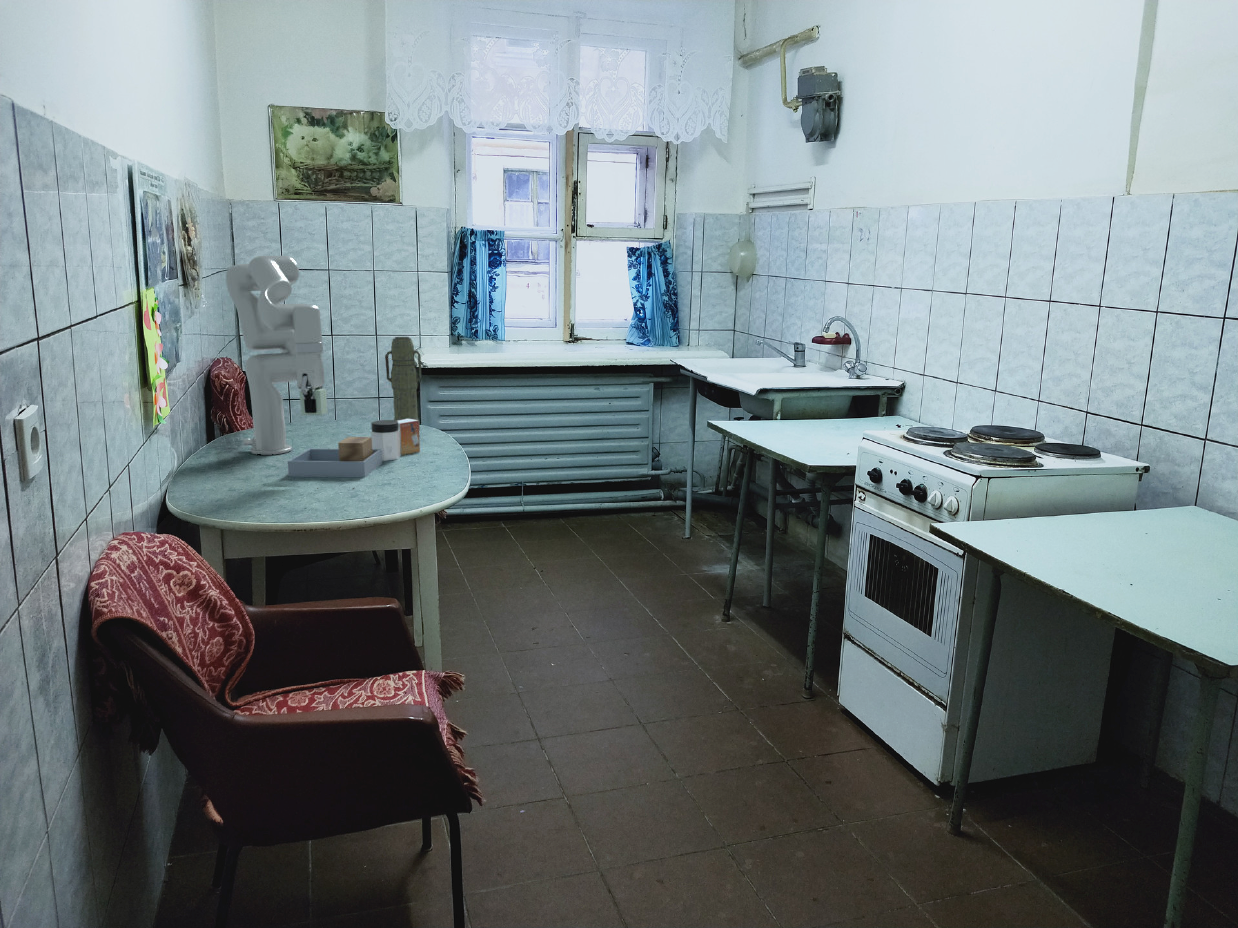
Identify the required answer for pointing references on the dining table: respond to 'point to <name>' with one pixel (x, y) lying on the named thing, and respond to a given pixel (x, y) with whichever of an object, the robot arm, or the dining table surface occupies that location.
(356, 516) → the dining table surface
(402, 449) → the small box
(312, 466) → the box
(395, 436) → the jar
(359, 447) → the walnut block
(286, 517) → the dining table surface
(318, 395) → the pale green block
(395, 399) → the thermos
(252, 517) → the dining table surface
